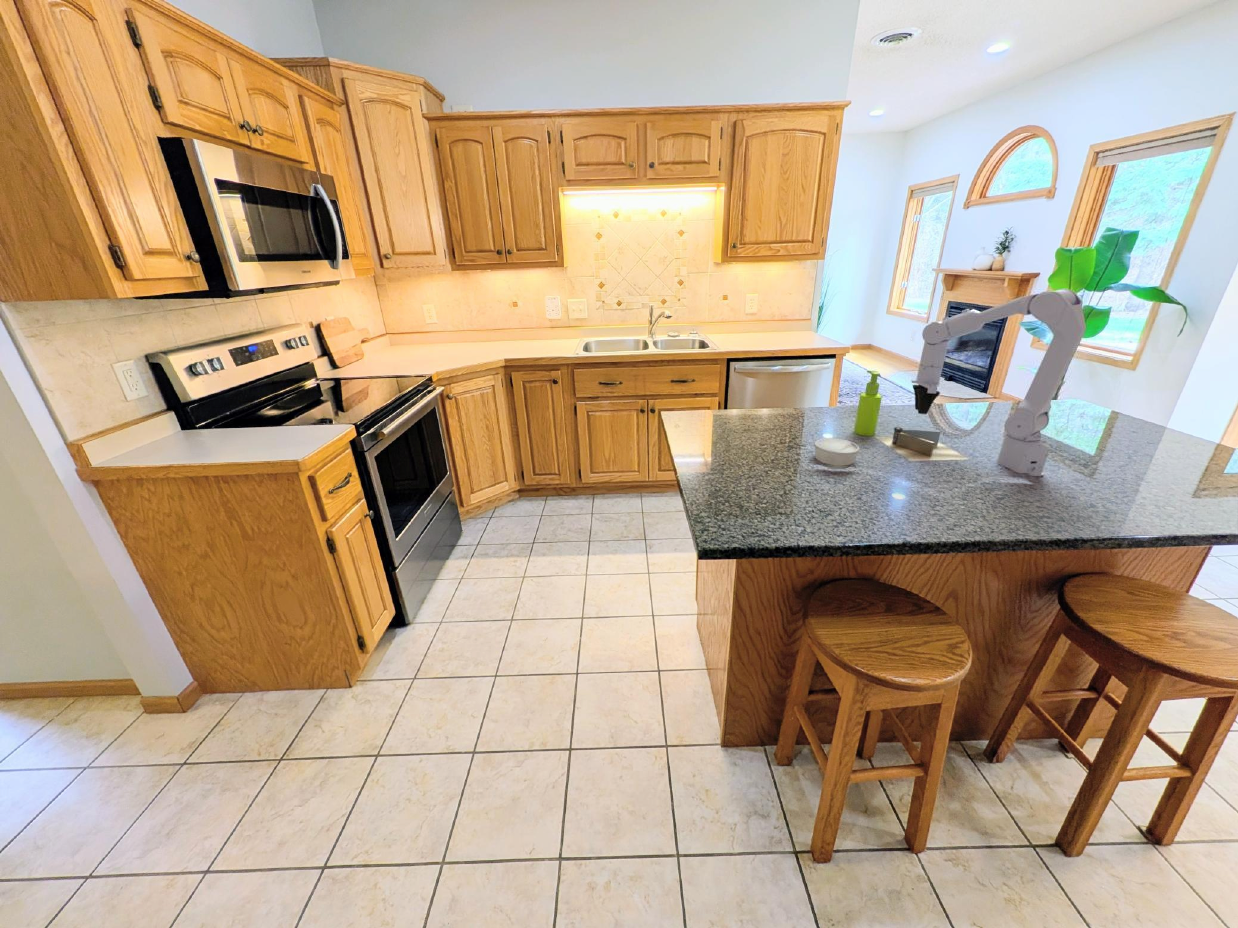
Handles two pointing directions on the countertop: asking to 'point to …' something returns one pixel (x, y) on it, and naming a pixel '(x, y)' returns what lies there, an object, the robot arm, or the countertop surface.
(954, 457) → the maple board
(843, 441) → the ramekin
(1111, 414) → the countertop surface
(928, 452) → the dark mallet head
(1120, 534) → the countertop surface
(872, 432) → the soap dispenser
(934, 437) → the slate bar
